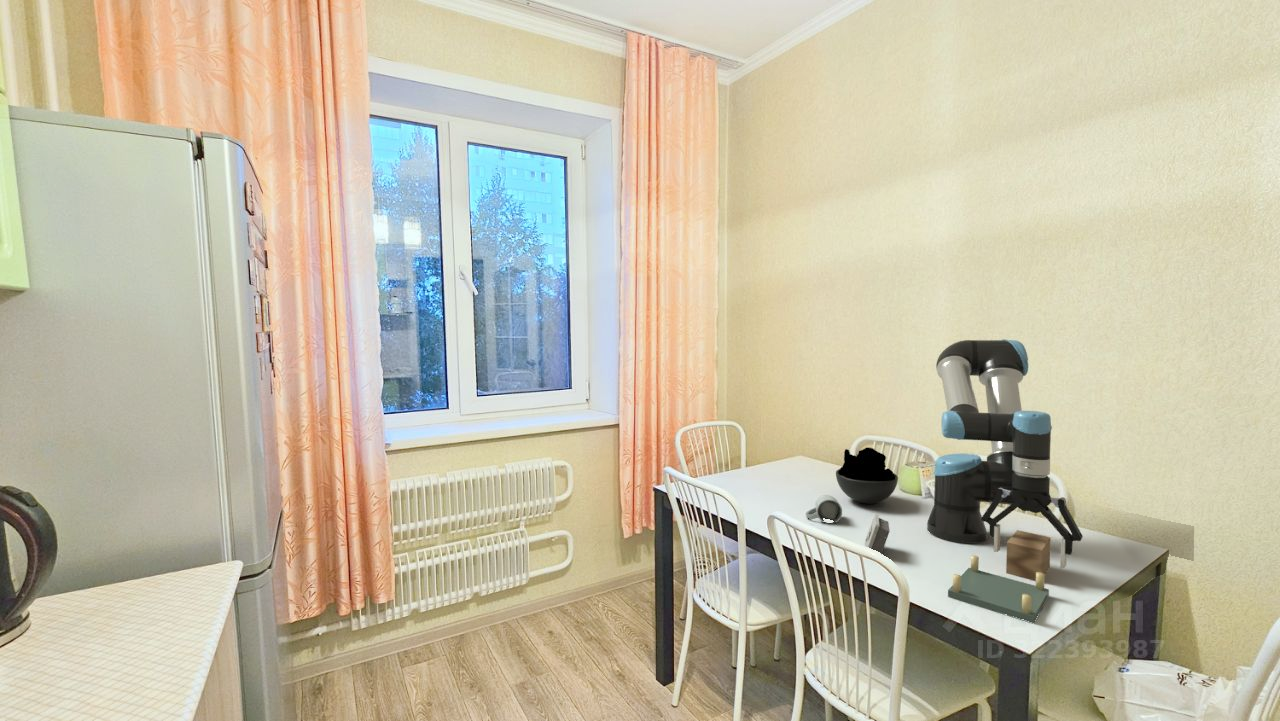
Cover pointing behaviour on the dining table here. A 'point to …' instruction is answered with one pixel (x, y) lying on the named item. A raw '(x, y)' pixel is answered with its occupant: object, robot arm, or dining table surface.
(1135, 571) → the dining table surface
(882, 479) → the bowl of black rocks
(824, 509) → the ceramic mug
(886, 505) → the dining table surface
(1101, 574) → the dining table surface
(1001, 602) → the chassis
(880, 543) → the electrical switch
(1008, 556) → the walnut block
